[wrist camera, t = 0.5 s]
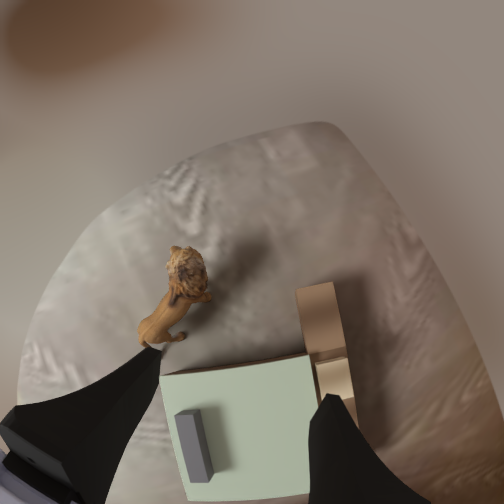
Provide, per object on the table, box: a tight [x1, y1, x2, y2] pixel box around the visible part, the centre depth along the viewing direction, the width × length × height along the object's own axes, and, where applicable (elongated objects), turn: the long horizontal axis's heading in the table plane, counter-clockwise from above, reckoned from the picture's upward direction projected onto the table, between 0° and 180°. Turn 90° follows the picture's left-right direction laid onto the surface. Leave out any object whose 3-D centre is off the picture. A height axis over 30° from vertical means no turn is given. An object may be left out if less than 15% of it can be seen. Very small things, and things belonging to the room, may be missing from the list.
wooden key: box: [315, 357, 354, 400], centre depth 28 cm, size 4×3×2 cm
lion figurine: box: [137, 246, 211, 348], centre depth 34 cm, size 15×5×9 cm, turn 152°
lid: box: [159, 355, 318, 501], centre depth 27 cm, size 16×16×4 cm
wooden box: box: [165, 281, 359, 429], centre depth 32 cm, size 23×20×5 cm
